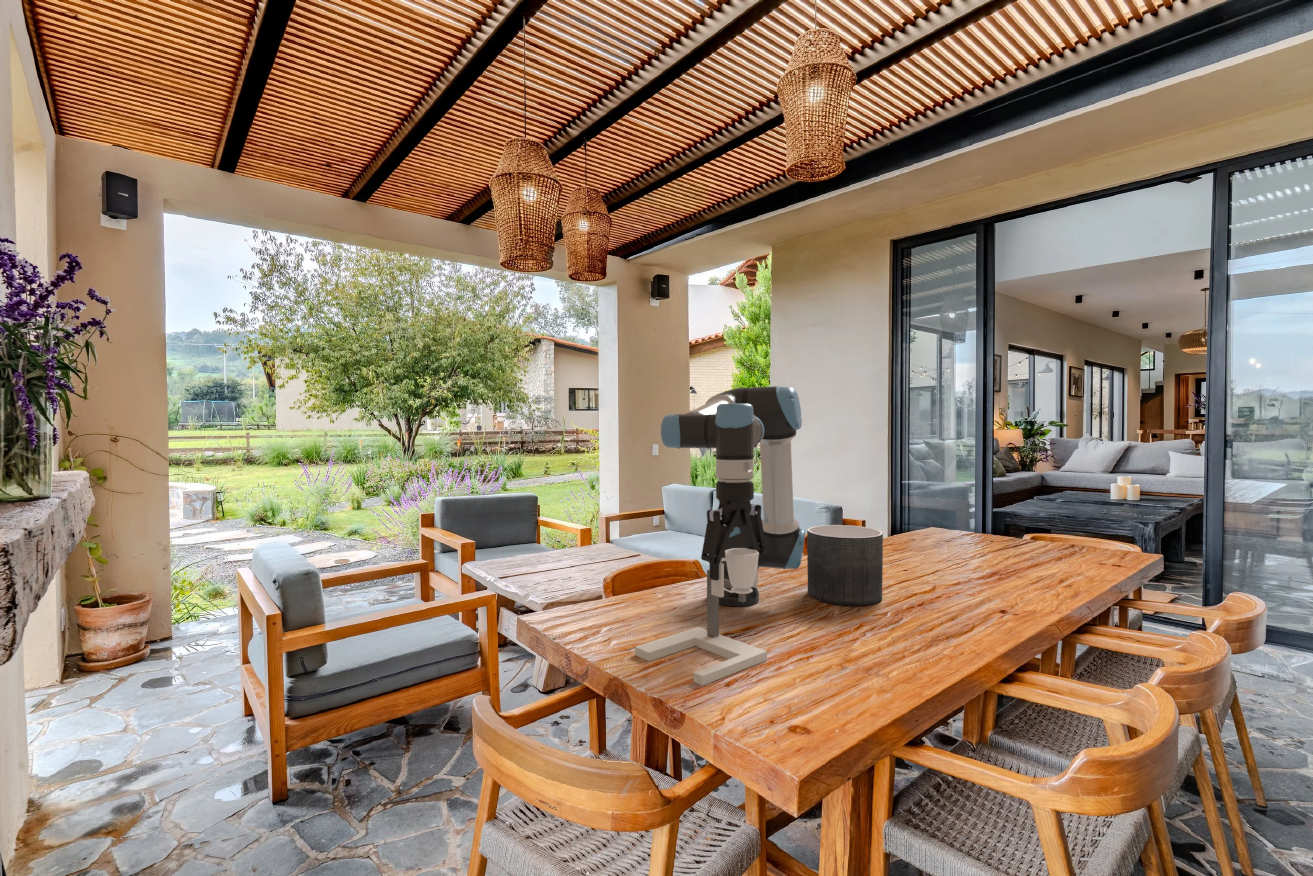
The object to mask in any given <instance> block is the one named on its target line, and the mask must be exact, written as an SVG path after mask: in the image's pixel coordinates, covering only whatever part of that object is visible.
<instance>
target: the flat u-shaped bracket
mask: <svg viewBox="0 0 1313 876" xmlns="http://www.w3.org/2000/svg"><path fill="white" fill-rule="evenodd" d="M697 646H698V647H697ZM694 647H697V648H698V649H699V648H700V649H703V650H704V651H708V652H710V653H712V654H714V655H717V654H718V656H720V657H723V658H725V659H726V660H723V661H721V662H717V663H715V664H712V665H710V666H707V667H704V668H702V669H699V670H697V671H694V672H693V683H695V684H697V685H700V686H702V687H703V686H706V685H708V684H711V683H713V682H716V681H718V680H721V679H723V678H727V677H729V676H731V675H733V674H735V673H738V672H740V671H743V670H746V669H749V668H751V667H753V666H756V665H758V664H761V663H763V662H766V661H767V660H768V651H767V650H764V649H762V648H758V647H756V646H754V645H750V644H748V643H745V642H743V641H740V640H737V639H734V638H731V637H728V636H725V635H722V634H720V633H719V636H718V637H715V638H712V637H709V636H707V628H703V627H700V626H697V627H694V628H690V629H687V630H684V631H681V632H677V633H674V634H671V635H668V636H667V635H666V636H665V637H662V638H658V639H655V640H651V641H649V642H646V643H642V644H639V645H636V646H634V656H636V657H639V658H641V659H643V660H645V661H646V662H652V661H655V660H657V659H661V658H663V657H667V656H669V655H672V654H675V653H679V652H681V651H685V650H687V649H691V648H694Z"/></svg>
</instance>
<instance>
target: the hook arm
mask: <svg viewBox="0 0 1313 876" xmlns="http://www.w3.org/2000/svg"><path fill="white" fill-rule="evenodd" d="M724 587H728V588H733V587H732V585H731V583H730V580H728V579H724ZM739 602H746V594H739ZM719 628H720V604H719V597H718V596H714V595H711V579H710V568H709V569H706V630H707V636H709V637H712V638H715V637H718V636H719V634H720V629H719Z"/></svg>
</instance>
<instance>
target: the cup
mask: <svg viewBox="0 0 1313 876" xmlns="http://www.w3.org/2000/svg"><path fill="white" fill-rule="evenodd" d="M725 556H726V558H722V559H721V562H722V561H726V562H727V569H728V575H729V579H730V583H731V585H732V587H733V588H731V590H727V589H726V588H724V590H726V591H728V592H730V593H738V594H748V593H751V592H753V590H752V588H750V587H752V586H753V584H754V580H755V577H756V570H757V563H758V556H759V552H758V551H757V550H754V549H748V548H732V549H728V550H725ZM721 562H720V563H721Z"/></svg>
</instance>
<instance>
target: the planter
mask: <svg viewBox="0 0 1313 876" xmlns="http://www.w3.org/2000/svg"><path fill="white" fill-rule="evenodd" d="M806 531H807V532H806V534H807V535H806V537H807V538H806V539H807V540H806V544H807V545H806V546H807V547H806V549H807V550H806V551H807V554H806V555H807V557H806V558H807V595H808V596H809V597H810V598H812V599H813V600H815V601H818V602H822V603H826V604H830V605H836V606H845V607H846V606H847V607H860V606H861V607H864V606H871V605H874V604H878V603H880V602H881V601H882V600H883V572H884V571H883V565H884V563H883V558H884V557H883V556H884V554H883V553H884V532H883V531H881V530H879V529H877V528H876V529H875V528H872V527H866V526H860V525H859V526H858V525H847V524H845V525H844V524H829V525H828V524H826V525H825V524H824V525H816V526H811V527H808V528H807V530H806Z"/></svg>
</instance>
